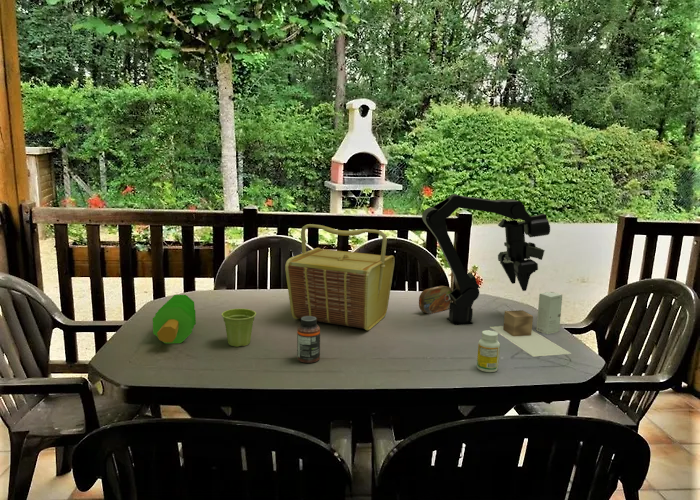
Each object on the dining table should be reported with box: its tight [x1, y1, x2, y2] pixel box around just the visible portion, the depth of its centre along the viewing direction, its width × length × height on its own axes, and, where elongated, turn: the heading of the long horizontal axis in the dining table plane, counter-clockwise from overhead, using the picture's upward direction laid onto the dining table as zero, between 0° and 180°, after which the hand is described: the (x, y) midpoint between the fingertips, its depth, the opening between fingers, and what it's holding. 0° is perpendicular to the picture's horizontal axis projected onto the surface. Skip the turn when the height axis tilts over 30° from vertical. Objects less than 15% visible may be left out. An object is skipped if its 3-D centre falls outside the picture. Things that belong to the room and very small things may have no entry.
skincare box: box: [535, 291, 563, 335], centre depth 171 cm, size 6×4×12 cm
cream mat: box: [489, 325, 572, 358], centre depth 164 cm, size 12×25×1 cm, turn 14°
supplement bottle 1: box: [296, 316, 321, 364], centre depth 144 cm, size 6×6×11 cm
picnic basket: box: [284, 223, 396, 331], centre depth 177 cm, size 29×26×30 cm
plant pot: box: [221, 308, 257, 348], centre depth 154 cm, size 9×9×9 cm
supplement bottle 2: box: [476, 329, 501, 373], centre depth 142 cm, size 5×5×10 cm
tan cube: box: [503, 309, 534, 336], centre depth 169 cm, size 6×6×6 cm
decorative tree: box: [152, 294, 197, 344], centre depth 161 cm, size 11×12×30 cm
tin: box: [418, 285, 453, 315], centre depth 190 cm, size 15×3×8 cm, turn 129°
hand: (518, 287), depth 178 cm, fingers open, 9 cm apart
